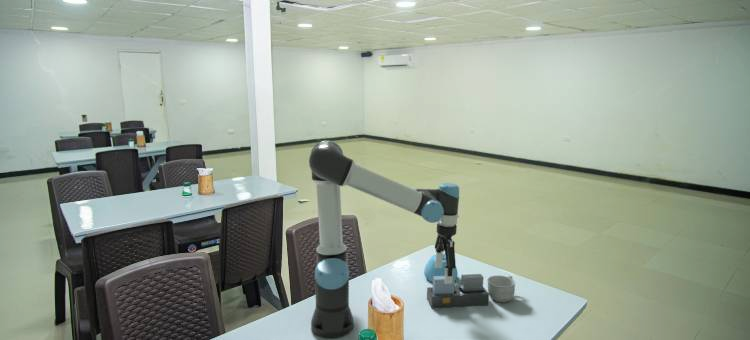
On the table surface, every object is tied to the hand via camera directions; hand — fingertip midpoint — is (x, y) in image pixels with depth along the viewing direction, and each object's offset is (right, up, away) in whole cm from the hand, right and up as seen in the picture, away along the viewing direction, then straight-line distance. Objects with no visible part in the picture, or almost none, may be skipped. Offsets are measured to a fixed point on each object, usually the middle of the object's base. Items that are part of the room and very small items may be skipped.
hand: (443, 275), depth 161 cm
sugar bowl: (+3, -8, +24) cm, 26 cm away
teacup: (+26, -11, +7) cm, 29 cm away
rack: (+6, -12, +3) cm, 13 cm away
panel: (0, -11, +2) cm, 11 cm away
